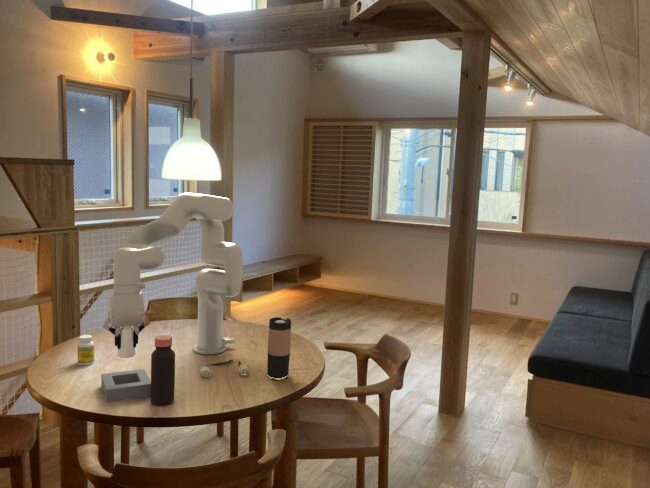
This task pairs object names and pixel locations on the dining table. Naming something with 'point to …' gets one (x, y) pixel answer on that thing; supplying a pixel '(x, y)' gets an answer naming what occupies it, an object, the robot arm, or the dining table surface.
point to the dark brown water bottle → (162, 371)
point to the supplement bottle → (85, 350)
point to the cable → (206, 372)
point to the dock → (125, 385)
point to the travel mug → (278, 347)
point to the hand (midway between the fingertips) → (126, 346)
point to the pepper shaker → (126, 343)
